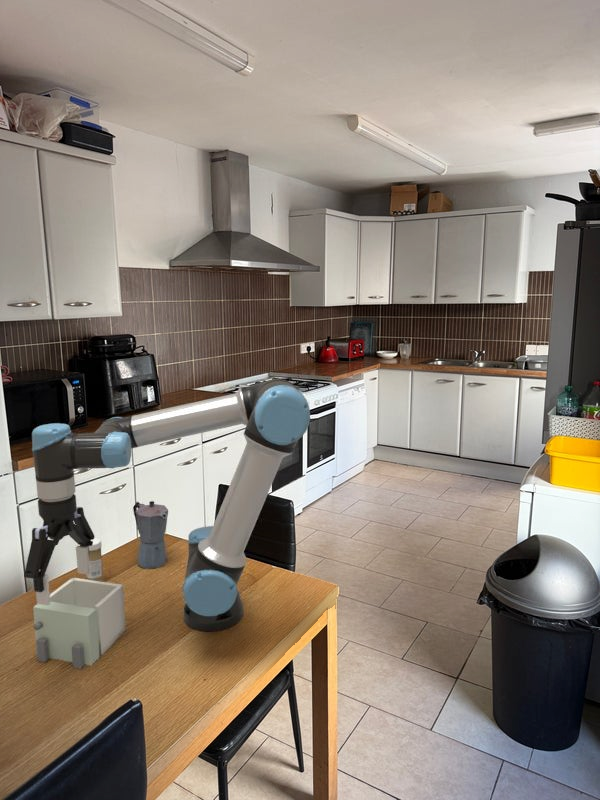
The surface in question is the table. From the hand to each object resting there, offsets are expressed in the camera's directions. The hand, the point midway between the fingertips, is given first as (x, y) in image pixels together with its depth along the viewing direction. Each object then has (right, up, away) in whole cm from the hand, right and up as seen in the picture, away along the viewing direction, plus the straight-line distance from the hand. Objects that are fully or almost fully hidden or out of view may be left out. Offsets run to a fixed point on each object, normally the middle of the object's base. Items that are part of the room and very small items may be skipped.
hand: (65, 587), depth 123 cm
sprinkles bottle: (-6, -11, +34) cm, 36 cm away
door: (-1, -17, +3) cm, 17 cm away
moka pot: (+6, -9, +48) cm, 49 cm away
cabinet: (+1, -16, +7) cm, 17 cm away
